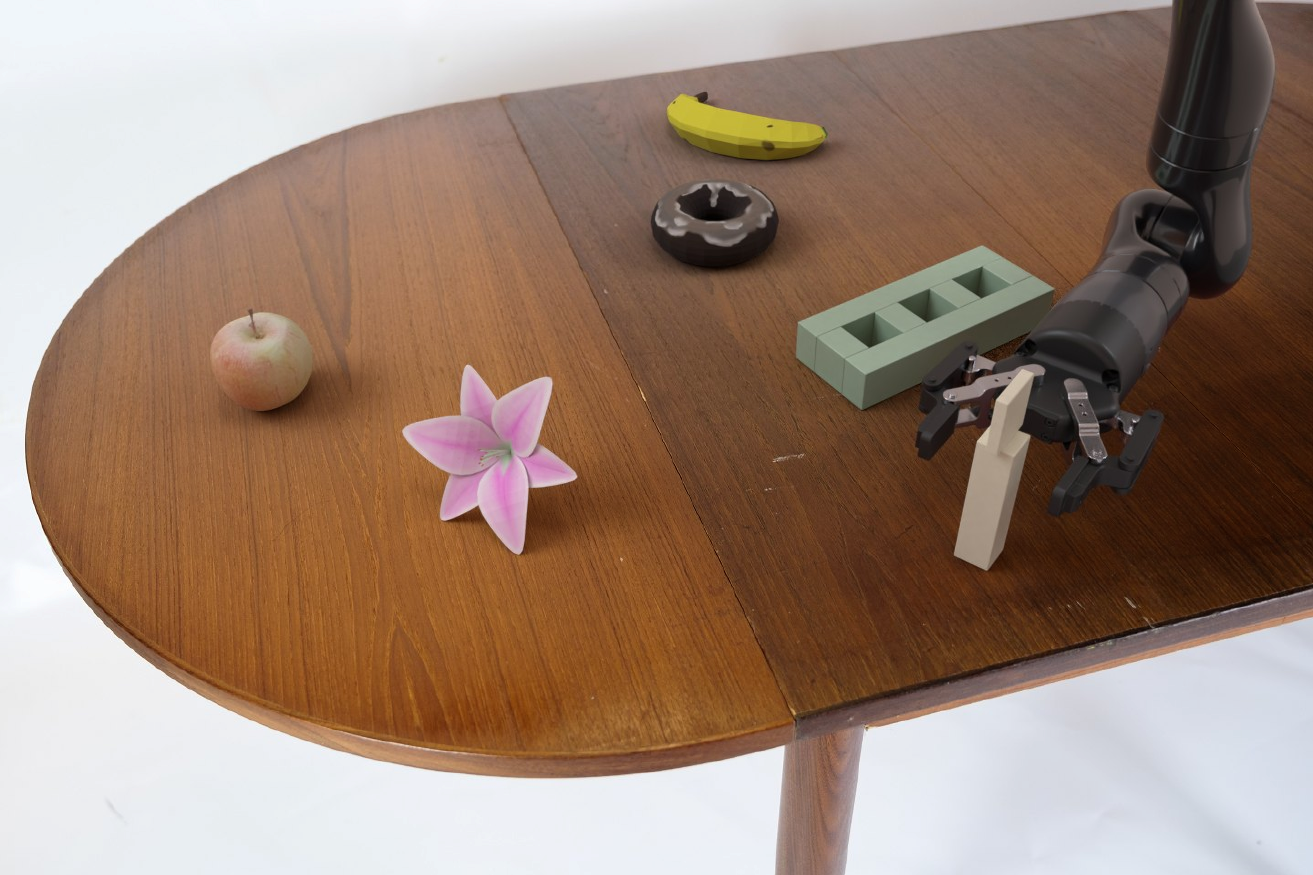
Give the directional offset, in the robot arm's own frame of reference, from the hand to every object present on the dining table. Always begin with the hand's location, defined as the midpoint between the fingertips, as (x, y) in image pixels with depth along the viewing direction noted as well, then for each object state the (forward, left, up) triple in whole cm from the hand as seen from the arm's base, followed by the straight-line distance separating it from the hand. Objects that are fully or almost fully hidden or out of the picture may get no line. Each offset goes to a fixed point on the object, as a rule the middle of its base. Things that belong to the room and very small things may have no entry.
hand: (987, 476), depth 68 cm
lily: (+29, +14, -8) cm, 33 cm away
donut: (+37, -23, -8) cm, 45 cm away
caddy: (+14, -20, -8) cm, 26 cm away
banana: (+47, -43, -8) cm, 65 cm away
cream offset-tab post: (0, -1, -8) cm, 8 cm away
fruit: (+52, +16, -8) cm, 55 cm away
